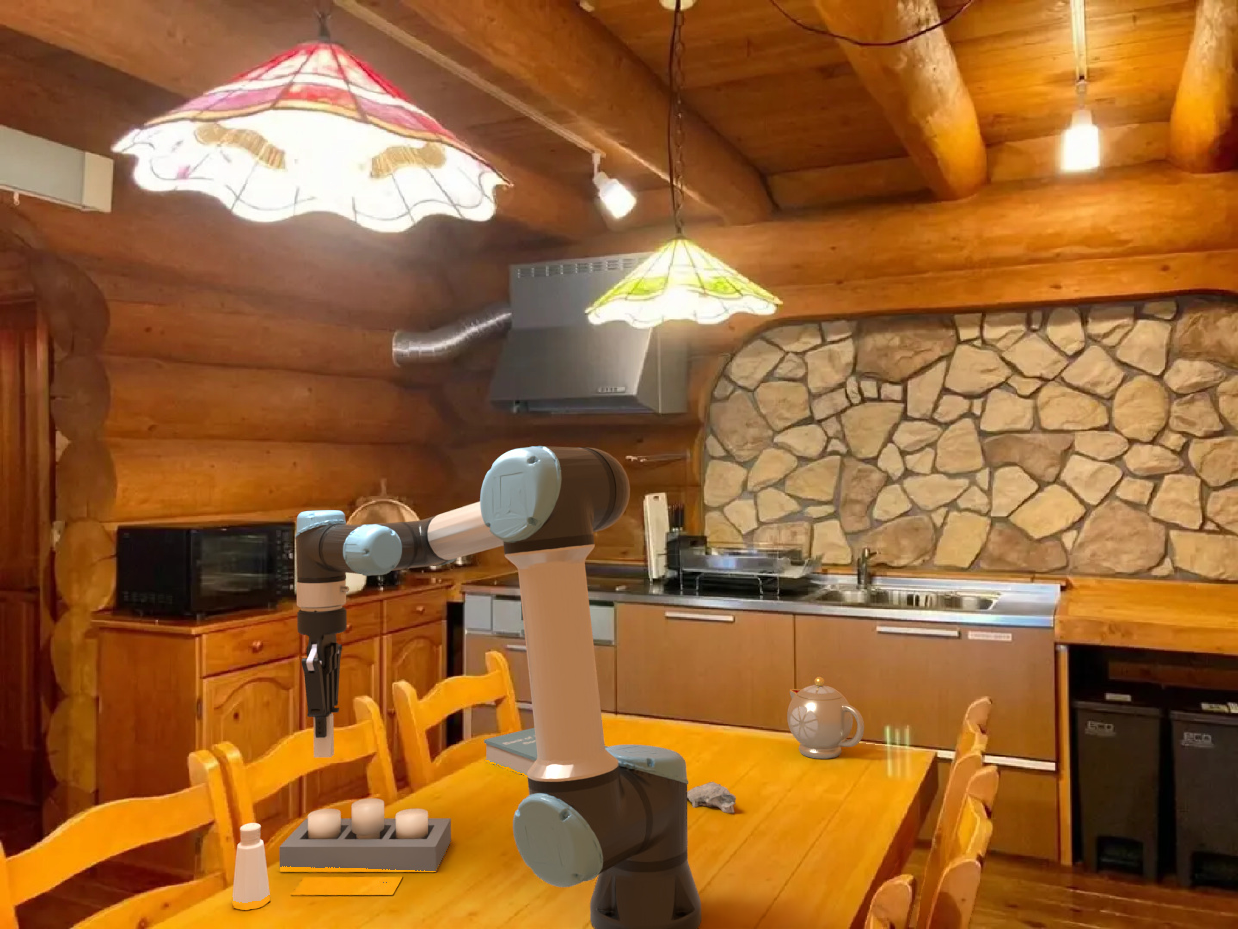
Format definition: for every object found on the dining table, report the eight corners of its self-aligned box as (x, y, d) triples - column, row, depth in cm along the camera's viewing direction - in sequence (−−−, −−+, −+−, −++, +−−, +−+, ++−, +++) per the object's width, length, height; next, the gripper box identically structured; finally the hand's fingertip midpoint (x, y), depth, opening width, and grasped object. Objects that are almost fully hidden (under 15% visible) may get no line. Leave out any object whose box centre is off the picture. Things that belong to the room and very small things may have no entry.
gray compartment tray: (435, 873, 151) (435, 846, 151) (279, 873, 151) (279, 847, 151) (450, 842, 163) (450, 818, 163) (306, 842, 163) (306, 818, 163)
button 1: (335, 858, 155) (334, 820, 155) (303, 858, 155) (303, 820, 155) (345, 845, 160) (344, 808, 160) (314, 845, 160) (313, 808, 160)
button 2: (424, 858, 154) (423, 819, 154) (392, 858, 154) (392, 820, 154) (431, 845, 159) (430, 808, 159) (400, 846, 159) (399, 808, 159)
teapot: (772, 754, 210) (771, 677, 210) (808, 740, 220) (807, 667, 220) (846, 771, 198) (845, 690, 198) (881, 757, 207) (880, 678, 207)
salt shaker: (276, 894, 144) (275, 818, 144) (264, 911, 139) (263, 832, 139) (238, 895, 144) (237, 819, 144) (225, 912, 138) (224, 833, 138)
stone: (705, 821, 172) (706, 798, 172) (677, 797, 184) (677, 775, 184) (738, 817, 175) (739, 794, 175) (708, 793, 186) (709, 772, 186)
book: (484, 763, 207) (484, 739, 207) (544, 748, 218) (544, 725, 218) (551, 789, 191) (551, 763, 191) (613, 771, 201) (613, 746, 201)
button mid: (379, 847, 154) (379, 809, 154) (347, 847, 155) (347, 809, 155) (387, 835, 159) (387, 798, 159) (357, 835, 160) (356, 798, 160)
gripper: (332, 613, 151) (334, 768, 151) (357, 601, 164) (359, 744, 164) (283, 614, 151) (285, 768, 151) (312, 602, 164) (314, 744, 164)
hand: (323, 755), depth 157 cm, fingers closed
